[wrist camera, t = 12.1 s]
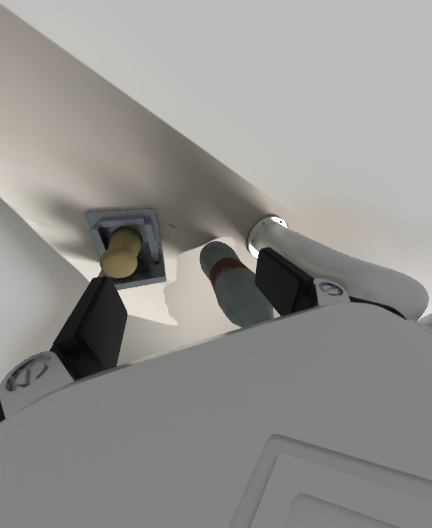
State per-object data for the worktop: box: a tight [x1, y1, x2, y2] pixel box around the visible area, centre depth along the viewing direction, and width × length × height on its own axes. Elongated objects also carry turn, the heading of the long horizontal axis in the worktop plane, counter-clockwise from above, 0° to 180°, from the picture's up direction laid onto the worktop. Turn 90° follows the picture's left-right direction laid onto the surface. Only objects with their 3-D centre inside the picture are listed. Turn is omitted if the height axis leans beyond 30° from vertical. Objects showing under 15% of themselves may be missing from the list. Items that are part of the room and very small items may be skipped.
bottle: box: [200, 241, 274, 328], centre depth 31 cm, size 9×9×30 cm
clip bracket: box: [84, 208, 166, 290], centre depth 30 cm, size 12×12×10 cm
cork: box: [100, 227, 143, 278], centre depth 29 cm, size 6×6×11 cm
